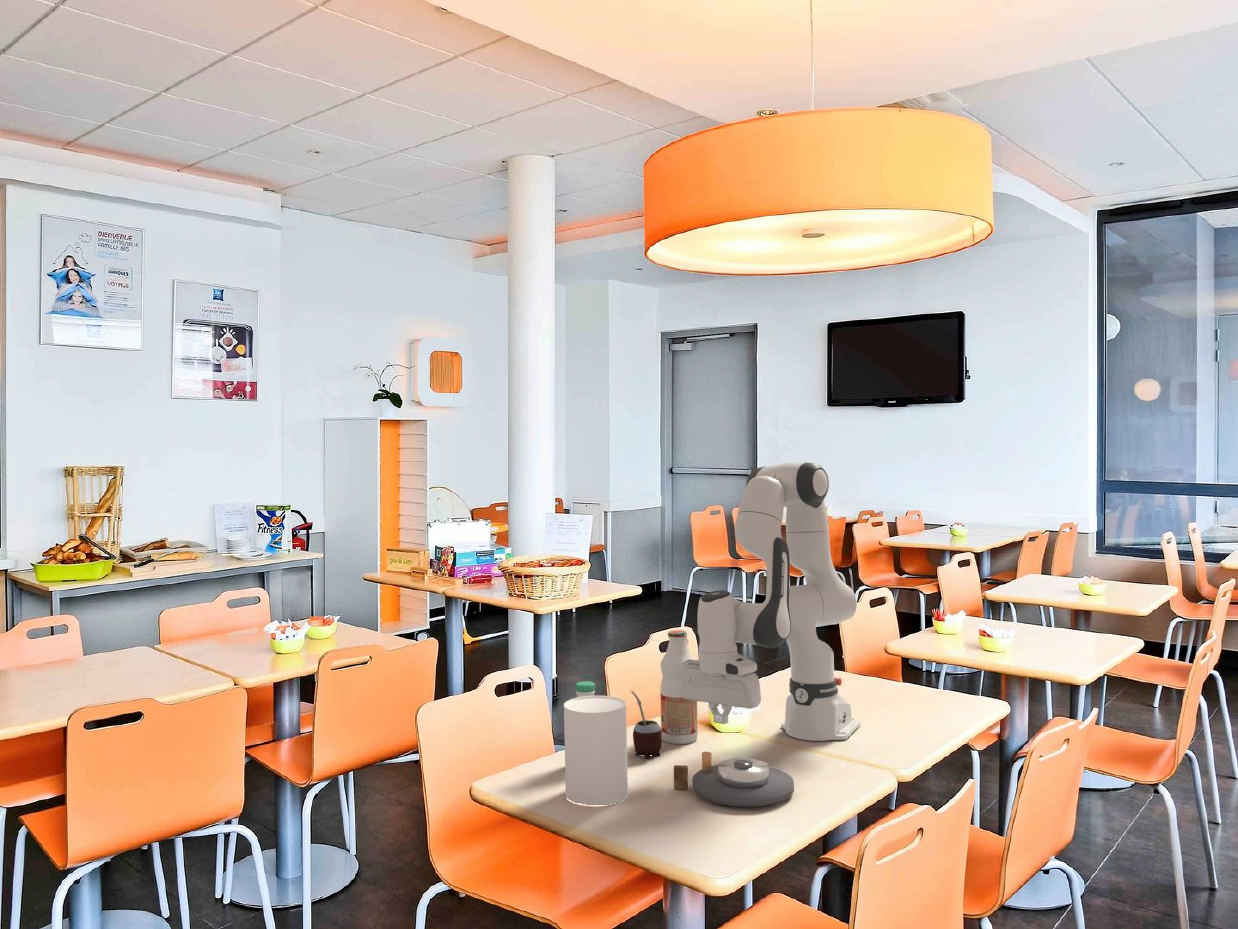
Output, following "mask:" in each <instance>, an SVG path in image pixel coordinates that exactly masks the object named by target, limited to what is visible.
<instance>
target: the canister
mask: <svg viewBox="0 0 1238 929" xmlns="http://www.w3.org/2000/svg"><path fill="white" fill-rule="evenodd" d="M563 720H564V721H563V726H564V765H565V766H564V767H565V768H564V769H565V771H564V773H565V798H566V797H567V798H568V799H569V800H571V801H573V802H575V803H581V804H586V805H610V804H614V803H618V804H619V803H622V802H624V801H625V800H626V799H627V798H628V797H629V796H628V795H629V789H628V788H629V785H628V779H629V778H628V740H627V739H628V738H627V737H628V734H627V732H628V731H627V702H626V700H624V699H623V698H620V697H616V696H612V695H611V696H610V695H594V696H584V697H578V698H576V697H575V698H571V699H568V700H567V701H565V702H564V703H563ZM626 797H627V798H626ZM623 800H624V801H623ZM610 806H611V805H610Z"/></svg>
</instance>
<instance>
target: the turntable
mask: <svg viewBox="0 0 1238 929" xmlns="http://www.w3.org/2000/svg"><path fill="white" fill-rule="evenodd" d="M712 758H713V757H712V752H710V751H703V752H701V769H700V770H699V771H698V770H697V772H695V773H694V775H693V776H692V778H691V783H692V784H691V785H692V786H691V787H692V790H693V792H694V793H695V794H696V795H697V796H699V797H700V798H702V799H704V800H707V801H709V802H712V803H716V804H720V805H725V806H735V807H758V806H759V807H760V806H761V807H762V806H767V805H772V804H776V803H777V804H778V803H780V802H783V801H785V800H787V799H788V798H790V797H791V796H793V794H794V792H795V780H794V778H793V777H792V776H791V774H788V773H787V772H785V771H784V770H781V769H778V768H776V767H772V766H770V765H768V766H769V783H768V784H767V785H765V786H763V787H760V788H755V789H736V788H730V787H727V786H724V785H722V784H721V783H720V782H719V781H718V764H715V765H713V763H712V762H713V761H712Z"/></svg>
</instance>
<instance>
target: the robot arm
mask: <svg viewBox="0 0 1238 929" xmlns="http://www.w3.org/2000/svg"><path fill="white" fill-rule="evenodd" d="M829 485H830V482H829V477H828V473H827V472H826V470H825V469H824V467H823V466H822V465H821V464H819V463H814V462H808V461H806V462H783V463H780V464H772V465H770V466H769V465H768V466H766V465H765V466H760V467H758V468H755V469H753V470H751V472H750V473H749V475H748V477H747V478H746V484H745V489H744V491H743V494H742V497H741V499H740V503H739V507H738V510H737V515H736V520H735V524H734V537H735V539H736V541H737V544H738V545H739V546H740V547H741V549H743V550H744V551H745V552H747V553H749V554H750V555H751V556H755V558H758V559H760V560H762V561H763V562H764V563H765V566H766V590H765V591H766V596H765V599H764V601H763V602H760V603H758V602H745V601H741V600H738V599H737V598H734V597H733V594H732V593H731V592H730V591H728V590H725V589H724V590H722V589H721V590H719V589H718V590H713V591H708V592H705V593H704V594H702V595H701V596H700V597H699V601H698V607H697V633H698V637H699V645H698V659H694V660H692V659H688V660H687V661H685V662H684V663H683V665H682V673H683V674H682V682H681V694H682V696H683V698H684V699H688V700H695V701H697V702H703V703H708V708H709V710H710V712H711V714H712V716H713V723H716V724H722V725H726V724H728V723H729V715H730V713H731V710H732V709H733V707H736V708H742V709H749V710H750V709H751V710H752V709H754V708H757V707H758V706H760V704H761V701H762V695H761V685H760V679H759V677H758V675H757V673H755V672H756V671H757V670H758V665H757V663H756V662H755V661H754V660H751V659H750V658H748V657H745V656H743V654H740V653H738V646H737V644H736V643H739V644H744V645H746V644H747V645H754V646H760V647H764V648H769V649H776V648H778V647H780V646H781V645H782V644H784V642H786V644H787V646H788V650H789V656H790V658H789V659H790V660H789V661H790V678H789V683H788V687H789V693H790V695H788V696H787V697H786V700H785V714H784V715H785V716H784V722H783V721H782V722H781V725H780V728H781V729H784V730H785V734H787V735H788V736H790V737H792V738H795V739H798V740H799V739H800V740H803V741H804V740H805V741H812V742H813V741H814V742H815V741H817V742H819V741H824V742H825V741H834V740H835V741H845V740H847V738H848V737H849V736H852V735H853V734H852V733H853V732H854V731H855V730H856V729H857V728H858V729H859V728H860V727H861V725H860V724H861V721H860V720H857V719H856V718H853V717H852V709H851V708H852V706H851V704H850V703H849V701H847V699H845V698H844V697H843V696H842V695H841V694H840V693H839V688H838V686H840V687H841V685H842V683H843V679H842V677H835V664H834V663H835V661H834V660H835V659H834V658H835V656H834V655H835V654H834V651H833V649H832V648H831V647H830V644H827V643H826V642H825V641H823V640H821V639H819V637H818V635H817V627H821V626H830V625H831V626H832V625H837V624H840V623H843V622H845V621H848V620H850V619H852V618H853V617H854V616H855V614H856V611H857V608H858V602H857V596H856V594H855V592H854V590H853V589H852V588H851V587H850V586H849V585H847V583H845V582H844V581H843V580H842V579H841V577H840V576H839V575H838V573H837V571H836V568H835V566H834V563H833V560H832V556H831V554H832V552H831V544H830V530H829V529H830V528H829V520H828V513H827V512H828V511H827V508H826V504H825V498H826V496H827V494H828V492H829V487H830V486H829ZM785 508H786V510H785V511H786V512H785V535H786V536H785V539H786V540H783V537H782V523H783V518H784V509H785ZM790 565H791V566H792V567H793V568H794V569H797V570H798V571H800V572H801V573H802V574H803V576H804V579H805V584H801V585H790V575H791V574H790V570H791V568H790ZM687 663H688V664H687ZM720 705H721V710H723V712H722V713H720V711H719V708H718V707H719V706H720ZM856 731H857V730H856ZM856 731H855V732H856ZM855 732H854V733H855ZM851 734H852V735H851ZM849 738H850V737H849ZM849 738H848V739H849Z"/></svg>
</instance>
